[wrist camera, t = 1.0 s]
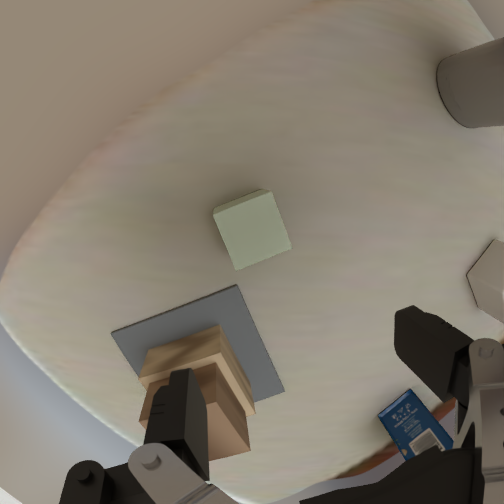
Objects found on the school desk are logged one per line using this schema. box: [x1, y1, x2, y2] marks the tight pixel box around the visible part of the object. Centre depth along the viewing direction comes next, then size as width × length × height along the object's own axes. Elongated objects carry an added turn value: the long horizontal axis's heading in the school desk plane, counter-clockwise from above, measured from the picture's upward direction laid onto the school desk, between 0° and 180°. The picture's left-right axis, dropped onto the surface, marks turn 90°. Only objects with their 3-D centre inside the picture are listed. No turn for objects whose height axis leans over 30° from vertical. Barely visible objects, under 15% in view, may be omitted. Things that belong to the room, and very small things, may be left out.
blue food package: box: [378, 389, 454, 461], centre depth 24 cm, size 6×12×25 cm, turn 41°
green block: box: [213, 189, 292, 271], centre depth 24 cm, size 4×4×5 cm
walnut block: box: [139, 362, 251, 461], centre depth 22 cm, size 6×6×5 cm
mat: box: [111, 285, 285, 402], centre depth 29 cm, size 14×14×1 cm
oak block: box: [138, 325, 256, 417], centre depth 27 cm, size 8×8×5 cm
